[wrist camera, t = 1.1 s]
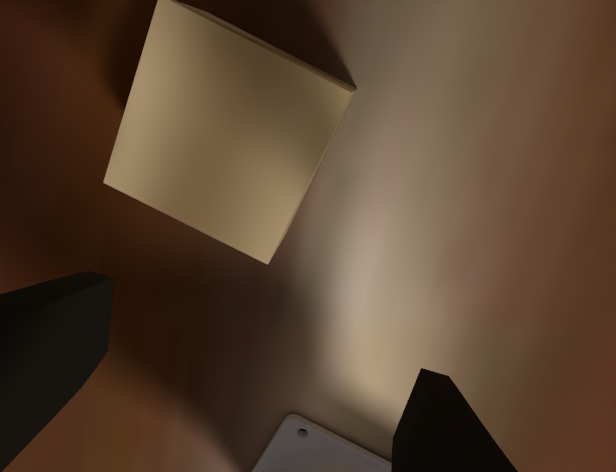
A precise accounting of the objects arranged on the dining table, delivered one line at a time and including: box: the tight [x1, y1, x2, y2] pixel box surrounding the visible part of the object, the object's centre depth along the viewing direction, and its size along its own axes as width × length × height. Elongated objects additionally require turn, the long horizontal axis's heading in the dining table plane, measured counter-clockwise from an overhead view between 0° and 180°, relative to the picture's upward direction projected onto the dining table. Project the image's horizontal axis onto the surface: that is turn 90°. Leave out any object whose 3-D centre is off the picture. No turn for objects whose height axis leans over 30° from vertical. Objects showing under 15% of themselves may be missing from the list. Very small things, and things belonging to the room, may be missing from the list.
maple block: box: [103, 0, 357, 265], centre depth 16 cm, size 6×6×4 cm
